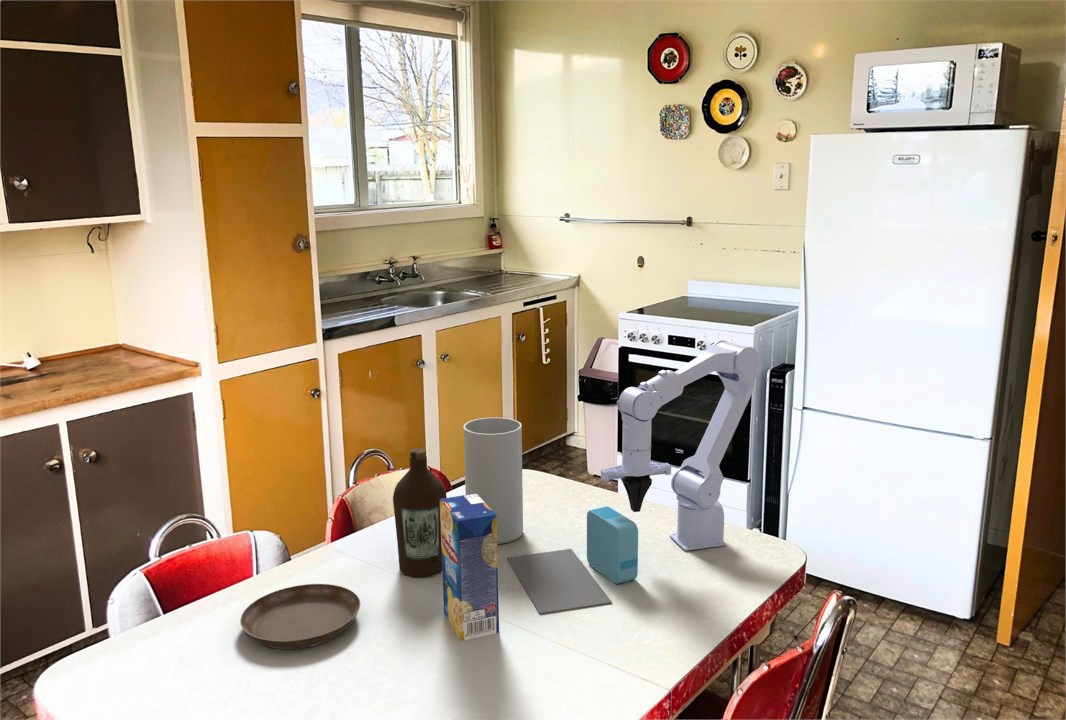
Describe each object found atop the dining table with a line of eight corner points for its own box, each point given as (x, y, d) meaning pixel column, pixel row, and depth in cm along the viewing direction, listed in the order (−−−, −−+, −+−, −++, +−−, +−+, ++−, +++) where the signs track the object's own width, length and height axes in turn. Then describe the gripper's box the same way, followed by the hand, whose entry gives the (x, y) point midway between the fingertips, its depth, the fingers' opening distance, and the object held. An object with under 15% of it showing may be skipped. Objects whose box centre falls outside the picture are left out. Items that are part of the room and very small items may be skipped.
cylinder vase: (458, 528, 194) (455, 422, 189) (509, 518, 199) (507, 414, 194) (479, 550, 183) (475, 437, 178) (532, 539, 188) (531, 429, 183)
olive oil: (396, 558, 180) (391, 443, 174) (447, 554, 181) (443, 441, 176) (396, 581, 169) (389, 460, 164) (450, 577, 171) (445, 457, 165)
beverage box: (479, 604, 160) (476, 493, 155) (499, 633, 150) (496, 514, 145) (443, 611, 158) (439, 498, 153) (461, 641, 148) (458, 521, 143)
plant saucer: (223, 623, 155) (222, 606, 154) (328, 587, 168) (327, 571, 167) (271, 672, 140) (269, 654, 139) (382, 629, 152) (381, 612, 152)
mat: (571, 550, 182) (571, 548, 182) (611, 603, 160) (612, 601, 160) (507, 558, 179) (507, 557, 179) (539, 614, 156) (539, 613, 156)
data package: (638, 581, 168) (638, 524, 166) (618, 587, 166) (619, 529, 164) (604, 558, 179) (605, 503, 176) (586, 562, 177) (586, 508, 174)
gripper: (662, 438, 179) (660, 499, 182) (596, 443, 176) (595, 506, 178) (676, 448, 173) (674, 511, 175) (607, 454, 169) (606, 519, 172)
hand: (635, 510), depth 177 cm, fingers closed
